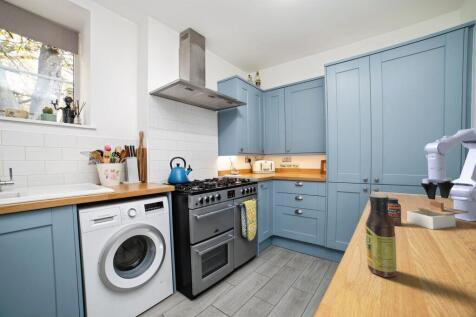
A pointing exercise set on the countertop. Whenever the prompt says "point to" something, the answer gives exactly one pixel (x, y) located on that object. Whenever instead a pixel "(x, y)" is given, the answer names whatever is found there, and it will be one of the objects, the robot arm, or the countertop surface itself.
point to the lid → (441, 209)
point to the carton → (430, 219)
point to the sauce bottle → (380, 238)
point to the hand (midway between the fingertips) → (438, 198)
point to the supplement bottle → (394, 211)
